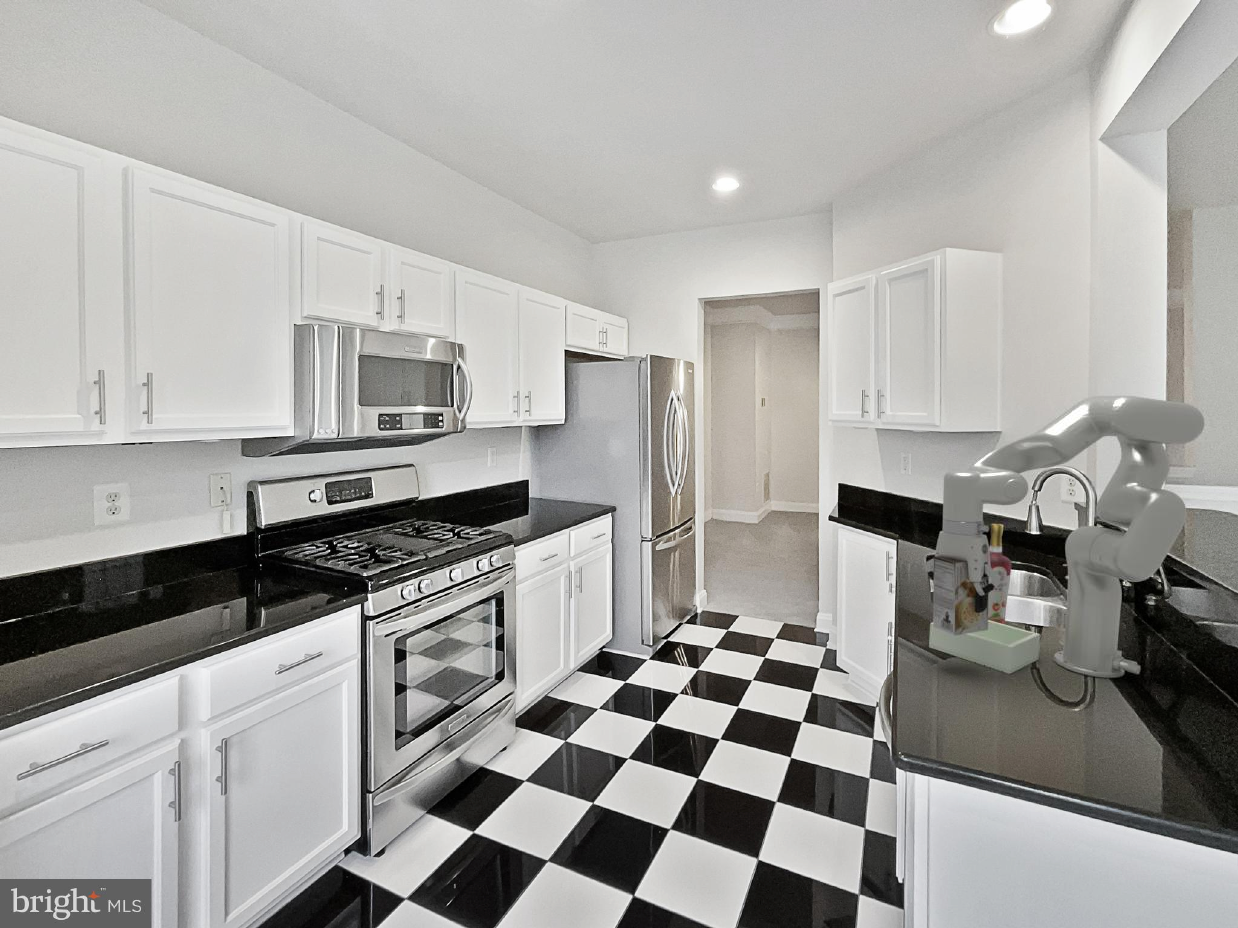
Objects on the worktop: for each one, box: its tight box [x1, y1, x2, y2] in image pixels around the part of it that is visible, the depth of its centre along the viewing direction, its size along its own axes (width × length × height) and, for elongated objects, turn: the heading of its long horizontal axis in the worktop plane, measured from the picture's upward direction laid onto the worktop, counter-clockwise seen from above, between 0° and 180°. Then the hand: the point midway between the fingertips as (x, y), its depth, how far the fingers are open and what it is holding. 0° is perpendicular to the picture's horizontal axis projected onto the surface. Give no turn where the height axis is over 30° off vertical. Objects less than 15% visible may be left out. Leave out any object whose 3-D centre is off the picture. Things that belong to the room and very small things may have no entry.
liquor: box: [988, 523, 1013, 625], centre depth 159 cm, size 7×7×28 cm
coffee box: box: [932, 555, 989, 636], centre depth 136 cm, size 9×6×16 cm
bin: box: [928, 620, 1041, 675], centre depth 146 cm, size 18×14×6 cm
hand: (960, 606), depth 136 cm, fingers closed on coffee box, 7 cm apart
